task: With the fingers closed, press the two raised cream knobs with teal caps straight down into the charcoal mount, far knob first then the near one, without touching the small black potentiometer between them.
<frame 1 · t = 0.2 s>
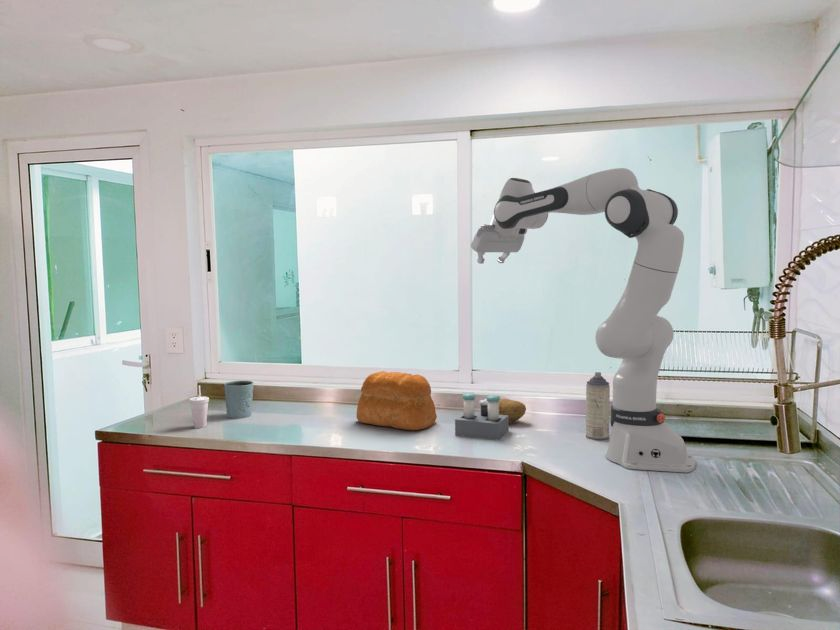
hand: (490, 262, 202), 54 cm above the worktop, fingers open, 8 cm apart
mount: (482, 432, 188), on the worktop
bread: (396, 423, 202), on the worktop
smoothie: (200, 427, 200), on the worktop
aerosol can: (597, 437, 181), on the worktop
potato: (505, 422, 201), on the worktop
knob near: (493, 408, 184), point 9 cm above the worktop, slide at 4.0 cm
knob far: (469, 405, 188), point 9 cm above the worktop, slide at 4.0 cm
grey cup: (240, 416, 214), on the worktop
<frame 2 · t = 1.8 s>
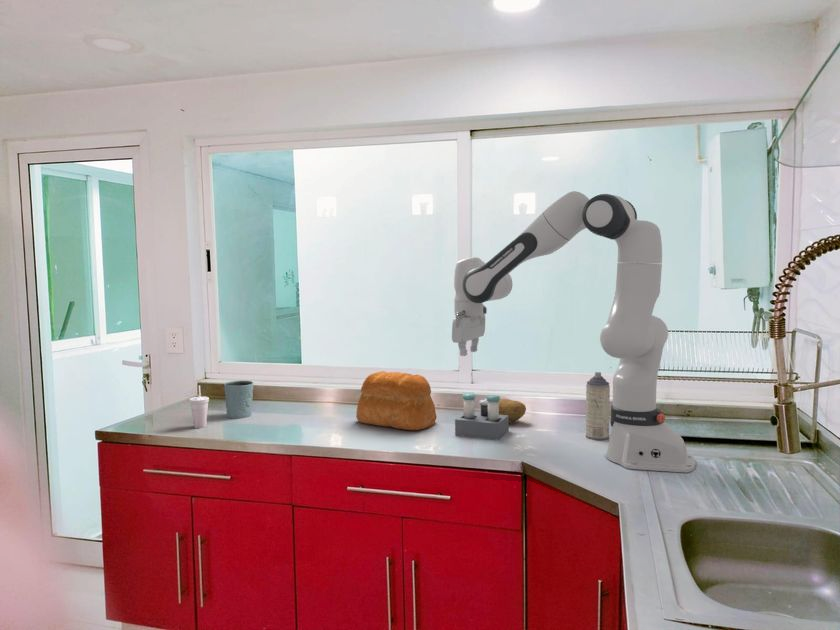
hand: (468, 353, 187), 25 cm above the worktop, fingers open, 8 cm apart
nothing on the worktop moved.
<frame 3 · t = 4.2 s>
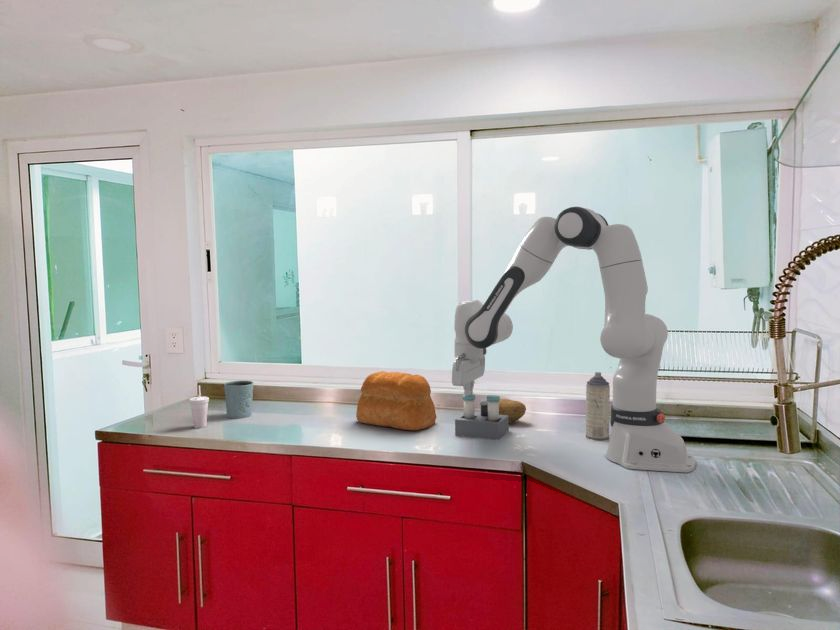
hand: (468, 395, 188), 12 cm above the worktop, fingers closed, pressing on knob far
knob far: (469, 406, 188), point 8 cm above the worktop, slide at 3.8 cm, touching gripper
everything else where it was.
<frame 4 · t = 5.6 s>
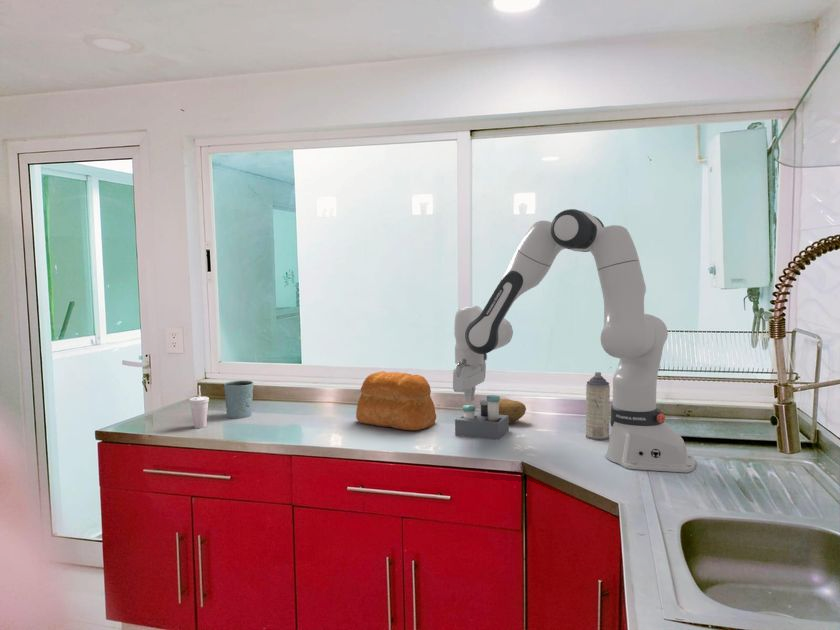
hand: (469, 401, 187), 10 cm above the worktop, fingers closed
knob far: (469, 417, 188), point 5 cm above the worktop, slide at 0.3 cm
everything else where it was.
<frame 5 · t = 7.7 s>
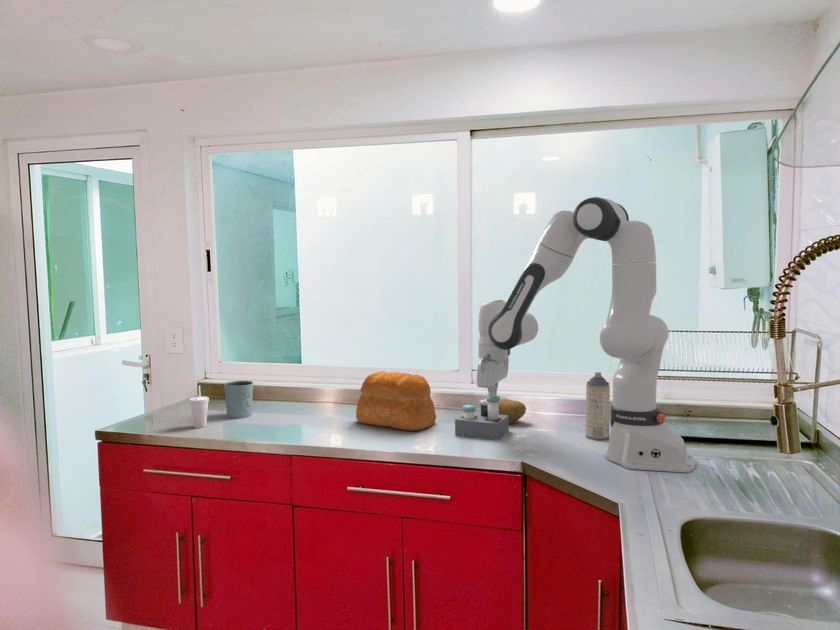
hand: (492, 396, 184), 12 cm above the worktop, fingers closed, pressing on knob near
knob near: (493, 408, 184), point 9 cm above the worktop, slide at 3.9 cm, touching gripper
everything else where it was.
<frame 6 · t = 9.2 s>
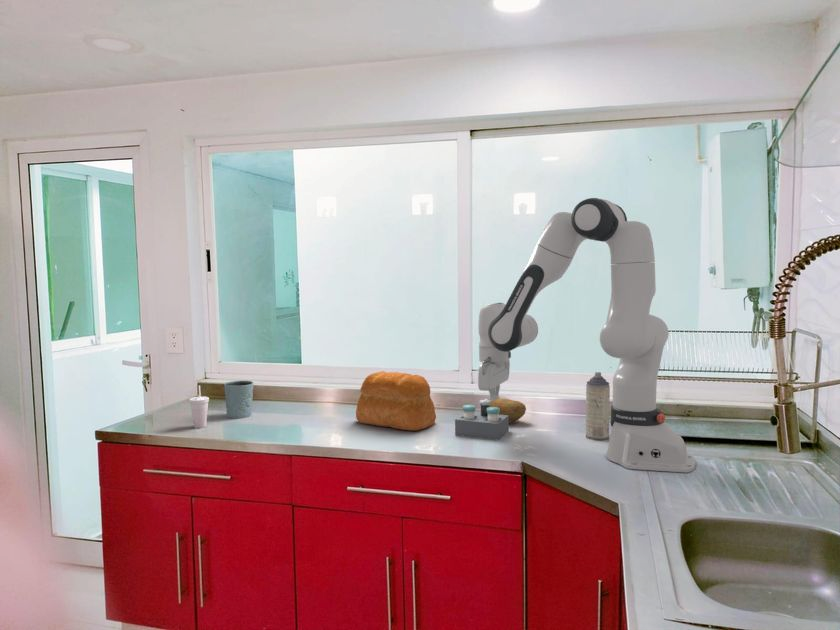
hand: (494, 399, 184), 11 cm above the worktop, fingers closed
knob near: (493, 419, 185), point 5 cm above the worktop, slide at 0.3 cm
everything else where it was.
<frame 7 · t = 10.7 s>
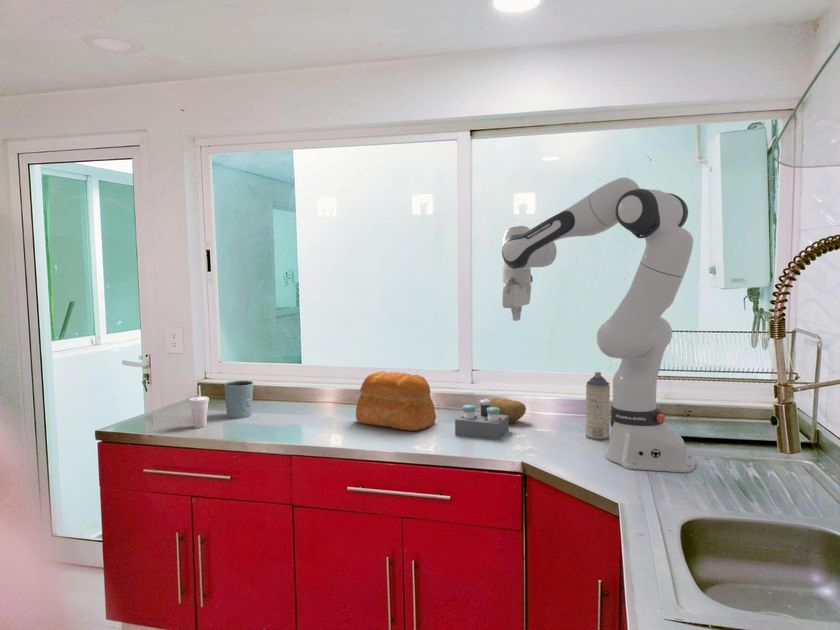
hand: (516, 320, 192), 35 cm above the worktop, fingers closed
nothing on the worktop moved.
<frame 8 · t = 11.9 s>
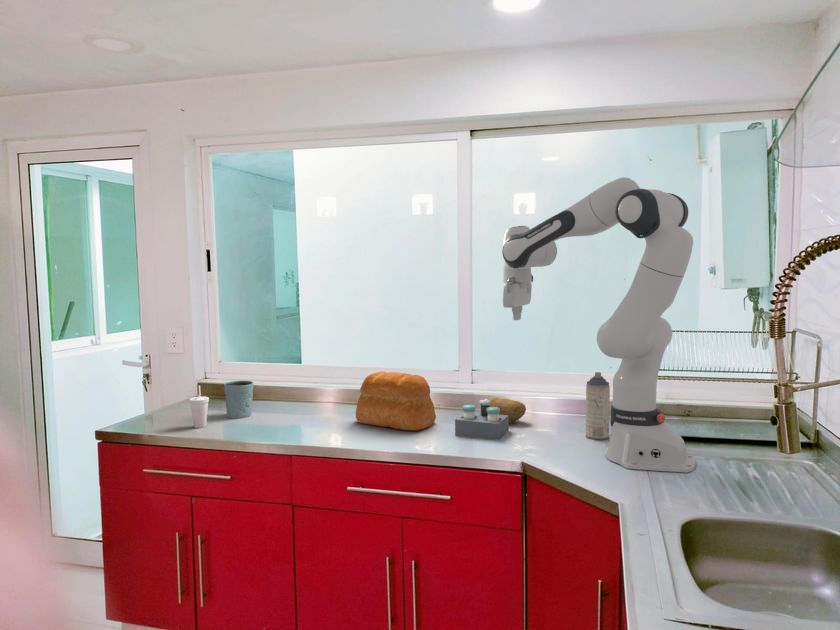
hand: (517, 320, 192), 35 cm above the worktop, fingers closed
nothing on the worktop moved.
at the end: knob far slide at 0.3 cm; knob near slide at 0.3 cm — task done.
